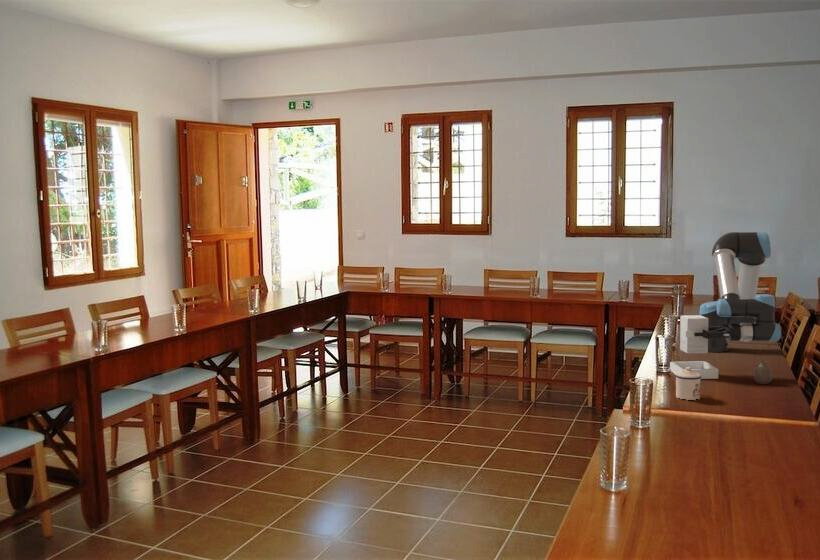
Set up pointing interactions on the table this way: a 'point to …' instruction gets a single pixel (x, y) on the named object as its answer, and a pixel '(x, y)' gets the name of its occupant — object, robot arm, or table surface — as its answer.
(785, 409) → the table surface
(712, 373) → the white bin
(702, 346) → the supplement box
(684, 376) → the teacup with lid
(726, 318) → the robot arm
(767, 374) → the vase
